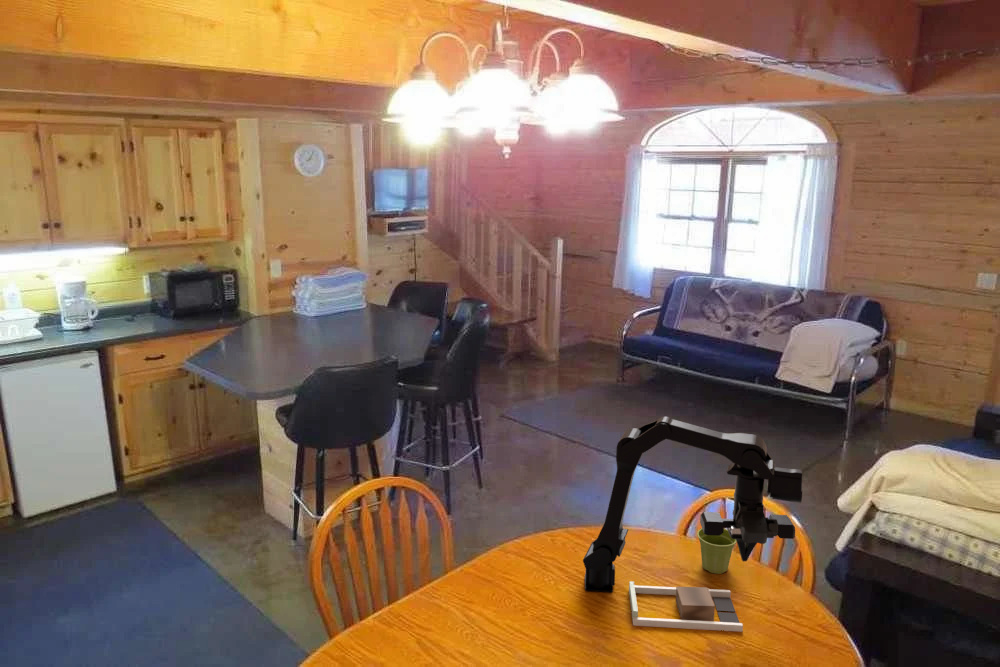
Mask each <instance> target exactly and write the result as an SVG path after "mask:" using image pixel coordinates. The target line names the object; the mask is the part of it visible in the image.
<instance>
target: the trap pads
mask: <svg viewBox="0 0 1000 667" xmlns="http://www.w3.org/2000/svg"><path fill="white" fill-rule="evenodd" d="M712 600H713V603H714V605H715V606H716V607H715V610H716V612H717V615H718V619H719V622H730V623H740V620H739V617H738V615H737V612H736V609H735V607H734V603H733V601H732V598H731V597H730V598H726V597H712ZM721 611H726V612H721ZM727 611H728V612H727Z"/></svg>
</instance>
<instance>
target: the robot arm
mask: <svg viewBox="0 0 1000 667" xmlns="http://www.w3.org/2000/svg"><path fill="white" fill-rule="evenodd" d="M665 440H669V441H673V442H675V443H680V444H683V445H687V446H690V447H693V448H697V449H701V450H704V451H707V452H712V453H715V454H717V455H719V456H722V457H725V458H726V459H727V460H729V461H730V462H731V464H728V465H727V470H726V473H727V475H730V476H735V485H734V486H735V487H734V493H733V498H734V500H733V501H734V502H733V509H732V515H733V516H732V518H722V515H721V514H720V512H716V511H714V512H713V511H703V512H702V513H701V514H700V518H699V523H700V526H701V528H702V529H703V532H704V534H706V535H715V536H720V535H721V534H722V533H724V529H727V530H728V532H729V534H730V537H731V538H732V539H736V541H737V542H736V545H737V548H738V551H739V555H740V557H741V561H742V562H747V561H748V560H749V558H750V555H751V554H752V552H753V551H754V548H755V547H756V545H757V544H761V545H764V544H766V543H767V540H768V539H774V537H778V538H779V539H787V540H793V539H795V538H796V527H795V526H796V525H794V523H793V522H792V520H791V519H790V517H789V516H788V515H787V514H771V513H770V515H769V517H766V515H765V512H764V511H765V510H764V506H765V505H764V504H763V503H764V490H765V480H767V487H766V488H767V489H766V490H767V491H766V494H769V498H772V500H779V501H785V502H792V503H798V504H801V503H802V499H803V470H802V469H798V468H785V467H784V468H783V467H778V466H777V467H776V466H775V461H774V460H773V458H772V457H771V455H770V454H769V453H768V451H767V449H768V448H767V444H766V442H765V441H764V438H762V437H761V436H759V435H757V434H752V433H751V434H750V433H743V432H735V433H732V432H731V433H727V432H726V433H725V432H721V431H717V430H714V429H709V428H706V427H702V426H700V425H695V424H692V423H688V422H684V421H680V420H677V419H674V418H671V417H669V416H661V417H660V418H658V419H656V420H653V421H651V422H649V423H645V424H644V425H641V426H640V427H638V428H634V427H633V428H629V429H627V430H625V431H624V433H623V434H622V436H621V437H620V439H619V441H618V443H617V445H616V452H615V454H616V455H615V456H616V457H615V464H616V473H615V479H614V482H613V484H612V485H613V487H612V490H611V494H610V499H609V502H608V507H607V511H606V515H605V519H604V523H603V526H602V527H601V530H600V531H599V534H598V536H597V538H596V539H594V540H593V541H592V542H591V543H590V545H589V547H588V549H587V551H586V553H585V555H584V556H583V559H582V562H583V564H584V565H583V566H584V568H585V572H584V573H585V574H584V590H585V591H587V592H598V593H599V592H600V593H601V592H603V593H613V592H614V586H615V585H616V566H615V564H614V562H615V561H616V558H617V557H618V558H620V557H621V555H622V552H623V550H624V548H625V545H626V537H627V535H628V532H629V529H627V528H624V524H623V520H624V516H625V512H626V508H627V503H628V500H629V495H630V491H631V489H632V488H631V487H632V484H633V480H634V475H635V473H636V469H637V466H638V464H639V462H640V460H641V458H642V456H643V454H644V453H646V452H648V451H649V450H651V449H652V448H653V447H655V446H656V445H658V444H659V443H661V442H663V441H665Z"/></svg>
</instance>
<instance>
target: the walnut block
mask: <svg viewBox="0 0 1000 667" xmlns="http://www.w3.org/2000/svg"><path fill="white" fill-rule="evenodd" d="M708 589H709V588H708V587H707V586H706V587H702V586H701V587H700V586H676V595H675V603H676V607H677V610H679V611H678V613H680V614H679V617H680V620H694V621H712V622H715V610H716V607H715V603H714V600H713V597H711V595H710V592H709V590H708Z"/></svg>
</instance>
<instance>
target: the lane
mask: <svg viewBox="0 0 1000 667" xmlns="http://www.w3.org/2000/svg"><path fill="white" fill-rule="evenodd" d="M628 583H629V584H628V594H629V595H630V596H629V602H630V603H629V604H630V610H631V611H632V612H631V618H632V619H631V620H632V626H638V627H651V628H652V627H653V628H654V627H656V628H673V629H689V630H704V631H705V630H707V631H721V630H722V631H723V630H724V631H723V632H741V633H742V632H743V629H744V628H743V627H744V625H743V622H739V623H730V622H720V621H694V620H681V619H675V618H674V619H673V618H659V617H658V618H655V617H641V616H640V617H639V609H638V603H637V595H636V594H643V595H644V594H646V595H647V594H648V595H666V596H667V595H668V596H676V587H677V586H676V587H675V586H674V587H673V586H672V587H671V586H659V585H658V586H654V585H640V584H639V585H637V584H635V581H629V582H628ZM708 590H709V592H710V595H711V597H712V598H713V597H726V598H731V595H732V594H731V593H732V592H731V590H730V589H715V588H713V589H712V588H711V589H710V588H708Z"/></svg>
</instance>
